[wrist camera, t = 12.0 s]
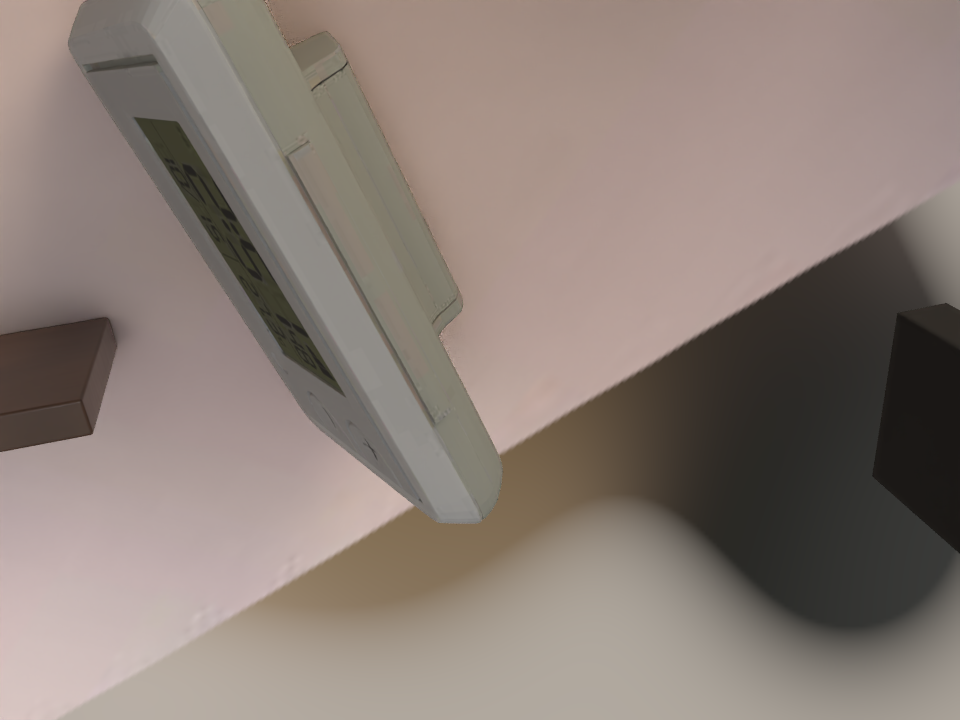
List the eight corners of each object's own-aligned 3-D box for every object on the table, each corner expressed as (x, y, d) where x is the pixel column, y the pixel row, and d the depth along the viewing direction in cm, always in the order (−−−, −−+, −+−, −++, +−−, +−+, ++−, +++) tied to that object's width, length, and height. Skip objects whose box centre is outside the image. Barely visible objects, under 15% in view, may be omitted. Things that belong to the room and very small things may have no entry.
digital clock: (52, -16, 25) (-55, 16, 16) (354, -87, 26) (421, -96, 17) (240, 438, 33) (242, 638, 23) (465, 368, 34) (552, 533, 25)
